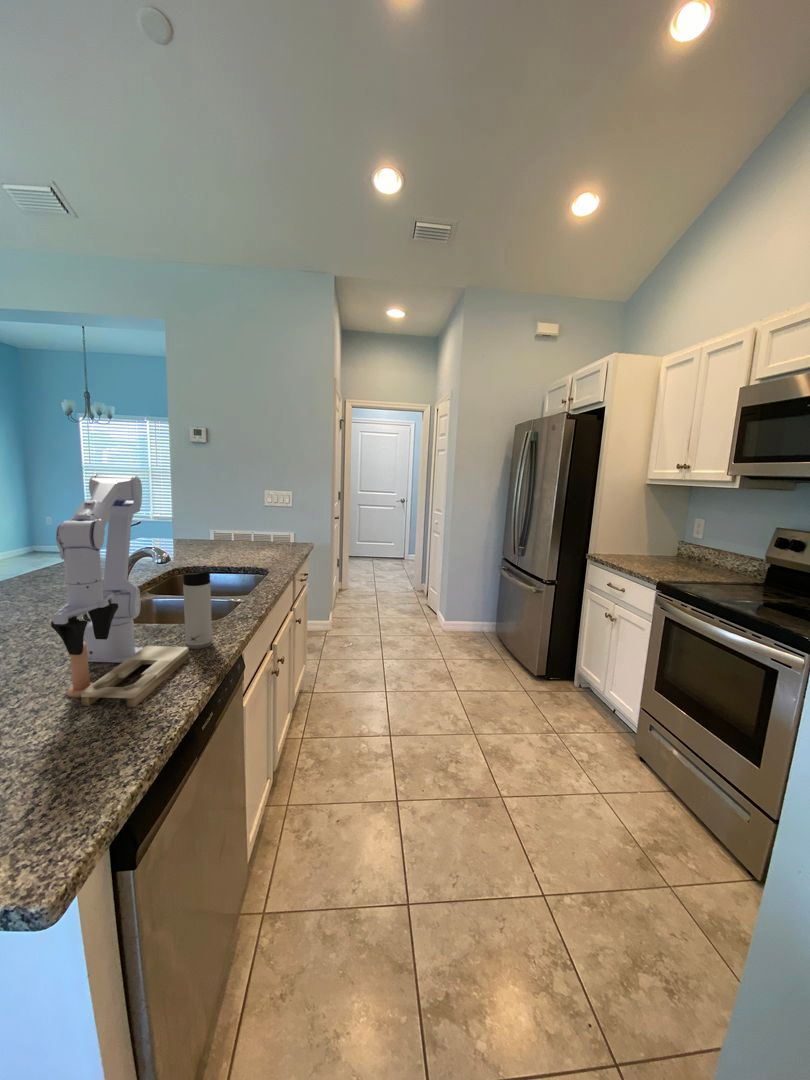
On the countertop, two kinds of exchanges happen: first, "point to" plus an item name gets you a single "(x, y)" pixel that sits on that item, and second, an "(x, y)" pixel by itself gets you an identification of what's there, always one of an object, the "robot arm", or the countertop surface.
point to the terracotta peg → (79, 673)
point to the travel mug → (197, 609)
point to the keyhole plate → (162, 667)
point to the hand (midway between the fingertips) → (89, 646)
